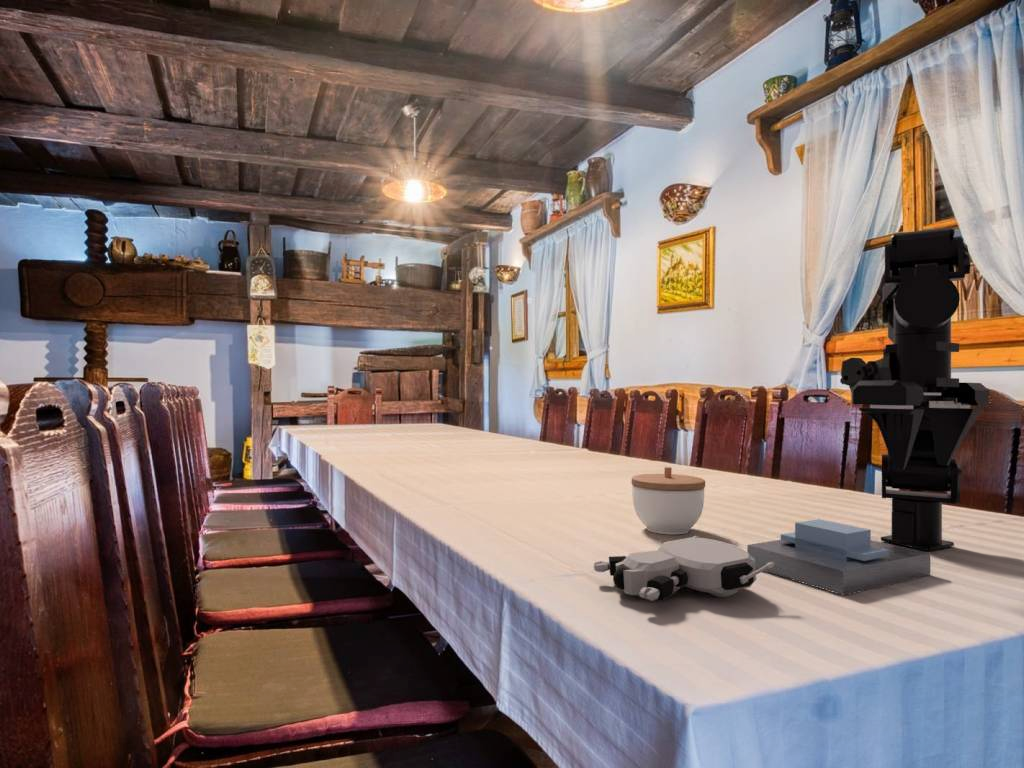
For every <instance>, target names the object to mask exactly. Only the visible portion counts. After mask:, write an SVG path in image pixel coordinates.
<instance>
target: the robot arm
mask: <svg viewBox="0 0 1024 768" xmlns="http://www.w3.org/2000/svg"><path fill="white" fill-rule="evenodd" d="M969 274H971V260H970V253H969V247H968V245H967V244H966V243H964V238H963V237H962V236H961V235H957V236H955V228H954V227H953V226H952V227H941V228H934V229H932V228H931V229H925V230H924V229H923V230H916V231H915V230H914V231H905V232H897V233H896V232H895V233H893V234H892V235H891V242H888V243H884V285H883V286H882V325H884V324H887V338H888V339H889V340H890V341H891V342H892V344H891V343H888V344H885V347H884V348H883V351H882V352H883V355H882V358H879V359H876V360H869V361H867V362H866V361H865V360H864V359H863V358H861V357H849V358H847V359H845V360H842V361H841V362H842V363H841V370H840V376H841V378H840V379H839V380H840V384H842V385H845V386H848V388H849V390H850V393H851V396H850V397H851V399H850V401H851V405H855V406H856V405H859V406H860V405H862V406H863V405H865V406H866V405H867V406H869V407H858V410H859V412H861V413H864V414H866V415H868V417H870V419H872V420H873V421H874V422H875V423H876V424H877V427H878V428H879V431H880V433H881V436H882V439H883V442H884V444H885V447H886V450H887V453H885V454H883V453H882V454H881V499H891V529H890V530H891V535H885V536H880V542H884V543H889V544H894V545H898V546H900V545H901V546H903V547H908V548H912V549H913V548H914V549H917V550H921V551H923V550H924V551H927V552H928V551H935V550H939V549H946V548H949V547H955V542H954V541H950V540H945V539H943V503H944V504H945V503H946V504H949V505H956V504H961V484H962V474H963V470H962V469H961V467H960V466H958V463H957V460H956V458H955V457H954V456H955V455H956V453H957V450H958V449H959V447H960V446H961V444H962V442H963V440H964V438H965V437H966V435H967V433H969V430H970V428H971V427H972V426H973V424H974V423H975V421H976V420H977V418H978V416H980V414H982V413H983V411H984V408H972V407H971V406H990V390H989V388H987V387H986V386H985V385H983V383H981V382H960V378H959V377H957V378H955V377H954V378H953V377H952V353H960V343H958V342H952V317H953V315H954V314H955V313H956V311H957V309H958V307H959V305H960V304H959V303H960V300H961V298H960V292H959V290H958V288H957V285H955V283H954V282H955V281H956V282H957V281H964V280H965V277H966V275H969ZM887 488H892V489H887ZM895 489H897V490H895ZM911 490H912V491H911ZM935 492H936V493H935ZM937 492H938V493H937ZM945 492H947V493H945Z"/></svg>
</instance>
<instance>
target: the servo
mask: <svg viewBox="0 0 1024 768" xmlns="http://www.w3.org/2000/svg"><path fill="white" fill-rule="evenodd" d="M794 524H795V525H794V527H795V528H794V530H795V531H794V532H788V533H781V534H780V540H782V541H786V542H790V543H794V544H795V548H796V549H800V550H804V551H808V552H812V553H816V554H820V555H824V556H828V557H831V558H835V559H839V560H843V561H847V562H852V561H857V560H862V561H867V560H872V559H877V558H882V557H887V556H888V550H887V549H883V548H878V547H874V546H871V540H872V539H871V534H872V533H871V529H868V528H864V527H860V526H859V527H858V526H853V525H848V524H844V523H839V522H834V521H830V520H824V519H812V520H805V521H798V522H795V523H794Z"/></svg>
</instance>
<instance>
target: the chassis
mask: <svg viewBox="0 0 1024 768" xmlns="http://www.w3.org/2000/svg"><path fill="white" fill-rule="evenodd" d="M746 546H747V549H746V550H747V551H746V552H748V553H749V554H750V555H751V556H752V557H753V558H754V559H755V567H756V570H758V569H760V568H762V567H764V566H765V565H766V564H767V563H769V562H772V563H774V565H773V567H771V568H768V569H766V570H764V571H763V572H765V573H768V572H769V574H772V575H775V574H776V575H775V576H778V575H780V576H779V577H781V576H784V577H783V578H785V577H787V578H786V579H788V578H790V579H789V580H791V579H794V580H797V581H800V582H799V583H801V582H804V583H807V584H810V585H814V586H818V587H821V588H824V589H827V590H830V591H834V592H837V593H839V594H843V595H844V594H848V595H850V594H849V593H852V594H855V593H854V592H856V593H859V592H858V591H861V592H863V591H862V590H865V591H868V590H867V589H869V590H873V589H877V588H881V586H882V587H885V585H886V586H889V584H890V585H893V584H894V585H895V584H897V583H902V582H901V581H903V582H906V581H905V580H907V581H911V580H914V578H915V579H920V578H924V577H928V576H931V552H928V551H925V550H924V551H923V550H920V549H916V548H914V549H913V548H911V547H906V546H902V545H901V546H900V545H897V544H893V543H888V542H883V541H877V540H873V539H871V546H874V547H878V548H883V549H887V550H888V556H887V557H882V558H877V559H872V560H867V561H862V560H857V561H852V562H847V561H843V560H839V559H835V558H831V557H828V556H824V555H820V554H816V553H812V552H808V551H804V550H800V549H796V548H795V544H794V543H790V542H786V541H782V540H781V539H777V540H771V541H765V542H764V541H763V542H758V543H752V544H751V543H749V544H747V545H746ZM910 579H911V580H910ZM794 580H793V581H794ZM797 581H796V582H797ZM804 583H803V584H804ZM807 584H806V585H807ZM810 585H809V586H810ZM814 586H813V587H814ZM876 587H877V588H876ZM872 588H873V589H872ZM830 591H829V592H830ZM839 594H838V595H839ZM843 595H842V596H843ZM844 596H845V595H844Z"/></svg>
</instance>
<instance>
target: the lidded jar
mask: <svg viewBox="0 0 1024 768" xmlns="http://www.w3.org/2000/svg"><path fill="white" fill-rule="evenodd" d="M663 471H664V472H663V473H644V474H636V475H633V476H632V477H631V491H632V492H631V494H632V495H631V496H632V503H633V508H634V511H635V513H636V516H637V518H638V519H639V521H640V522H641V523H642V524H643V525H644V526H645V527H646V530H647V531H648V532H651V533H653V534H654V533H655V534H659V535H671V536H672V535H673V536H674V535H686V534H688V533H689V532H690V529H691V528H693V527H694V526H695V525H696V524H697V522H698V521H699V519H700V517H701V515H702V513H703V509H704V503H705V488H706V480H705V479H704V478H702V477H698V476H694V475H687V474H686V475H685V474H676V473H675V474H673V473H672V467H671V466H670V467H669V466H665V467H664V470H663Z"/></svg>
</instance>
